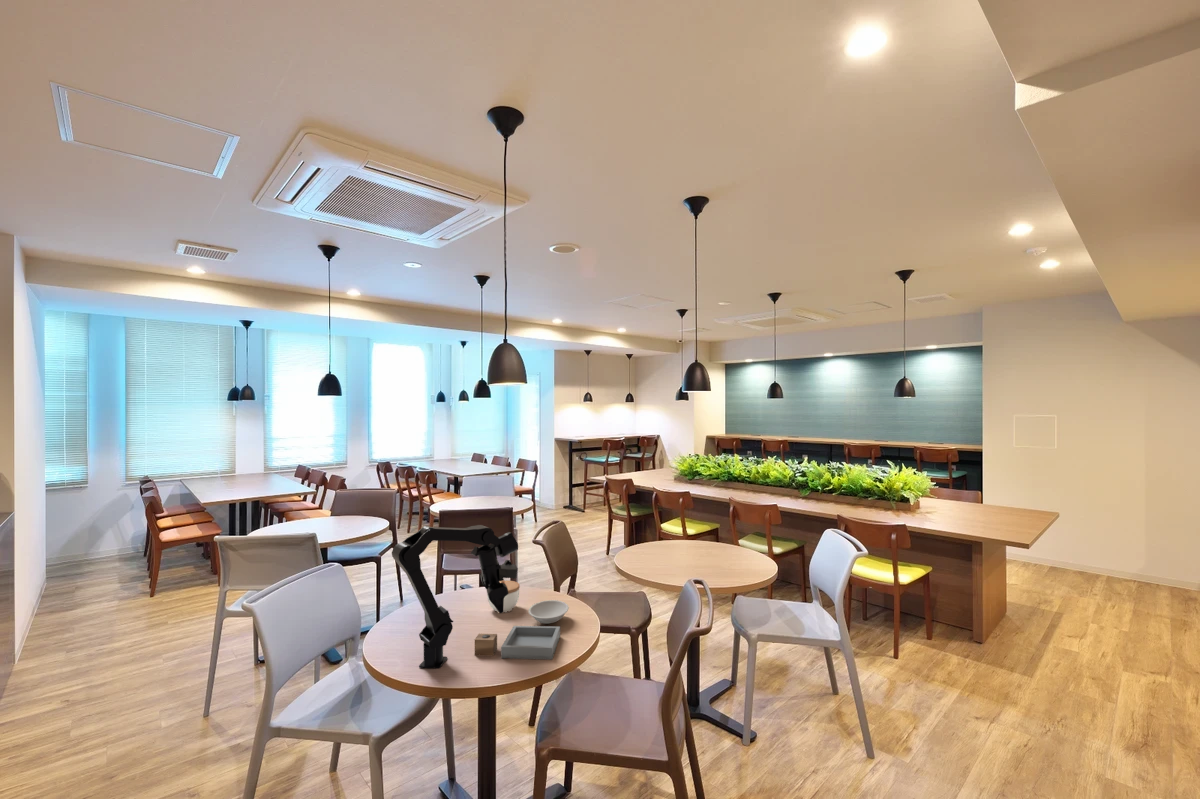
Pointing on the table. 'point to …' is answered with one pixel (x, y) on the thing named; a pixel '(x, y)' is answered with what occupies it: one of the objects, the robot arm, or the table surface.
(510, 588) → the lidded bowl
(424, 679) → the table surface
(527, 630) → the tray
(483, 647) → the walnut block
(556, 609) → the dish
